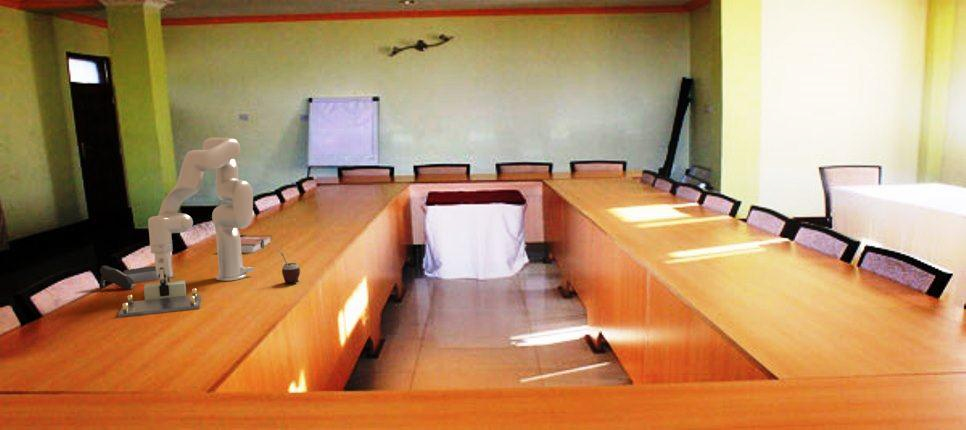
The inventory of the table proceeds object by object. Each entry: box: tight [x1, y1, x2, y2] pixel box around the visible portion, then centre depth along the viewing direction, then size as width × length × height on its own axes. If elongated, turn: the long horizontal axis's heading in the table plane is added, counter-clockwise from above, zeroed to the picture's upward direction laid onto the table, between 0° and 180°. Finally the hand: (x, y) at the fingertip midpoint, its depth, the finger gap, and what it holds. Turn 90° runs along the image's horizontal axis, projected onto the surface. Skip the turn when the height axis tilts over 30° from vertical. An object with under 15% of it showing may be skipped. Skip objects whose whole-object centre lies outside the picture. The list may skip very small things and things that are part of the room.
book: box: [240, 234, 272, 254], centre depth 333 cm, size 26×18×5 cm
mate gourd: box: [275, 248, 301, 286], centre depth 262 cm, size 8×8×15 cm
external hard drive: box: [122, 265, 175, 284], centre depth 274 cm, size 13×19×4 cm
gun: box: [99, 265, 136, 291], centre depth 258 cm, size 3×16×10 cm, turn 78°
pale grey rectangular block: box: [143, 279, 187, 300], centre depth 246 cm, size 14×6×5 cm, turn 113°
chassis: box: [117, 287, 203, 318], centre depth 232 cm, size 26×15×4 cm, turn 111°
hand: (165, 292), depth 246 cm, fingers closed on pale grey rectangular block, 6 cm apart
